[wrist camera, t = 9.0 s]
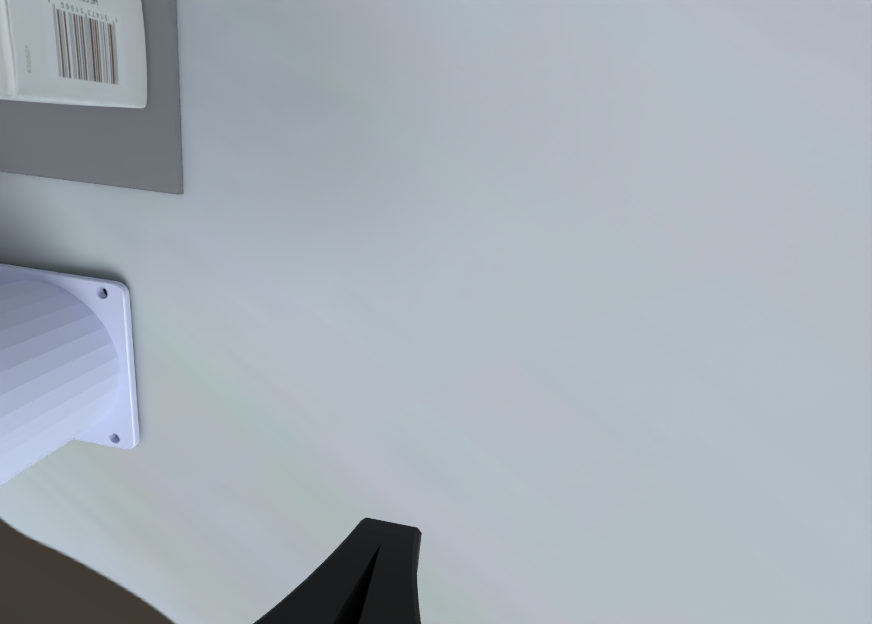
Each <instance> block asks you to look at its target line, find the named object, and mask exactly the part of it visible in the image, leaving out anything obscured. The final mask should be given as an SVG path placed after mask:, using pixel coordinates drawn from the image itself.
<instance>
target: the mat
mask: <svg viewBox="0 0 872 624" xmlns="http://www.w3.org/2000/svg"><path fill="white" fill-rule="evenodd" d="M141 2H142V12H143V20H144V30H145V45H146V61H147V104H146V106H145V107H144V108H124V107H103V106H84V105H67V104H54V103H41V102H28V101H15V100H1V99H0V171H2V172H9V173H17V174H25V175H32V176H40V177H48V178H56V179H63V180H71V181H79V182H86V183H94V184H102V185H109V186H117V187H125V188H132V189H140V190H148V191H155V192H163V193H171V194H178V195H179V194H183V176H182V149H181V123H180V96H179V69H178V43H177V16H176V0H141Z"/></svg>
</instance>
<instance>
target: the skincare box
mask: <svg viewBox="0 0 872 624" xmlns="http://www.w3.org/2000/svg"><path fill="white" fill-rule="evenodd" d="M0 99H1V100H15V101H28V102H41V103H54V104H67V105H84V106H103V107H124V108H144V107H145V106H146V104H147V61H146V45H145V30H144V20H143V12H142V2H141V0H0Z"/></svg>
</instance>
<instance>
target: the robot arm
mask: <svg viewBox="0 0 872 624" xmlns="http://www.w3.org/2000/svg"><path fill="white" fill-rule="evenodd" d="M103 288H105V289H106V290H107V293H108V296H107V295H106V294H105V293H104V291H103ZM116 434H117V435H118V436H119V438H118V437H117V436H116ZM72 439H76V440H81V441H86V442H92V443H97V444H102V445H107V446H112V447H117V448H122V449H131V448H133V447H134V446H136V445H137V444H138V443H139V439H140V437H139V423H138V409H137V395H136V381H135V367H134V353H133V339H132V325H131V311H130V297H129V291H128V289H127V287H126V286H125V285H124V284H123V283H121V282H118V281H112V280H106V279H99V278H93V277H86V276H80V275H73V274H67V273H60V272H54V271H47V270H40V269H34V268H27V267H21V266H14V265H8V264H1V263H0V486H1V485H2V484H4V483H5V482H7V481H9V480H10V479H12V478H13V477H15V476H16V475H18V474H19V473H21V472H22V471H24V470H26V469H27V468H29V467H30V466H32V465H33V464H35V463H36V462H38V461H39V460H41V459H42V458H44V457H46V456H47V455H49V454H50V453H52V452H53V451H55V450H56V449H58V448H59V447H61V446H63V445H64V444H66V443H67V442H69V441H70V440H72ZM421 534H422V533H421V532H420V530H419V529H418V528H416V527H411V526H406V525H401V524H396V523H391V522H386V521H381V520H376V519H371V518H365V519H363V520H361V521H360V523H359V524H358V525H357V526H356V527H355V529H354V530H353V531H352V532H351V533H350V534H349V536H348V537H347V538H346V539H345V540H344V541H343V542H342V543H341V544H340V545H339V547H338V548H337V549H336V550H335V551H334V552H333V553H332V554H331V555H330V556H329V557H328V558H327V559H326V560H325V561H324V562H323V563H322V564H321V565H320V566H319V567H318V568H317V569H316V570H315V571H314V572H313V573H312V574H311V575H310V576H309V577H308V578H307V579H306V580H305V581H303V582H302V583H301V584H300V585H299V586H298V587H297V588H296V589H294V590H293V591H292V592H291V593H290V594H289V595H288V596H287V597H285V598H284V599H283V600H282V601H281V602H280V603H279V604H277V605H276V606H275V607H274V608H273V609H271V610H270V611H269V612H268V613H266V614H265V615H264V616H263V617H261V618H260V619H259V620H257V621H256V622H255V623H253V624H421V621H420V612H419V602H418V589H417V568H418V560H419V551H420V542H421Z"/></svg>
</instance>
